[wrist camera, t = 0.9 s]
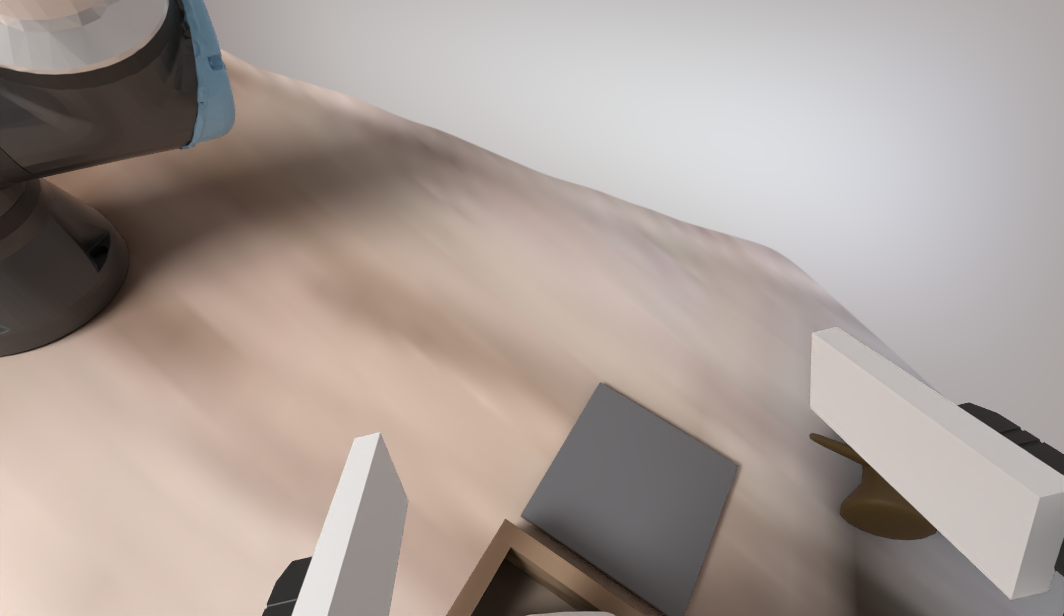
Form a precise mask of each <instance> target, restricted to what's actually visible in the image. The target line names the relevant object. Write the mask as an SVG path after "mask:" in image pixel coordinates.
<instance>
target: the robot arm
mask: <svg viewBox="0 0 1064 616" xmlns="http://www.w3.org/2000/svg"><path fill="white" fill-rule="evenodd" d="M221 57H222V55H221V52H220V48H219V43H218V39H217V36H216V33H215V31H214V27H213V25H212V22H211V19H210V16H209V14H208V11H207V8H206V6H205V3H204V1H203V0H0V356H4V355H10V354H15V353H19V352H23V351H27V350H30V349H33V348H36V347H39V346H42V345H45V344H47V343H50V342H52V341H54V340H56V339H58V338H61V337H63V336H65V335H66V334H68V333H70V332H72V331H74V330H75V329H77V328H78V327H80V326H81V325H83V324H85V323H86V322H87V321H89V320H90V319H91V318H93V317H94V316H95V315H96V314H97V313H99V312H100V311H101V310H102V309H103V308H104V307H105V306H106V305H107V304H108V303H109V302H110V300H111V299H112V298H113V297H114V296H115V294H116V293H117V291H118V290H119V288H120V287H121V285H122V283H123V281H124V279H125V276H126V273H127V270H128V265H129V253H128V248H127V245H126V243H125V241H124V239H123V238H122V236H121V235H120V234H119V233H118V231H117V230H116V229H115V228H114V226H113V225H112V224H111V223H110V222H109V220H108V219H107V218H106V217H105V216H103V215H102V214H101V213H100V212H99V211H97V210H96V209H94V208H93V207H91V206H89V205H88V204H86V203H84V202H83V201H81V200H79V199H78V198H76V197H74V196H72V195H71V194H69V193H67V192H66V191H64V190H62V189H61V188H59V187H57V186H56V185H54V184H52V183H50V182H49V181H47V180H45V179H44V178H43V177H47V176H52V175H56V174H61V173H65V172H70V171H75V170H79V169H84V168H88V167H93V166H97V165H102V164H106V163H111V162H116V161H120V160H125V159H130V158H135V157H140V156H145V155H150V154H154V153H159V152H164V151H169V150H174V149H189V148H191V147H193V146H195V145H196V144H197V143H200V142H204V141H207V140H211V139H215V138H218V137H221V136H224V135H225V134H227V133H228V132H229V131H230V130H231V129H232V127H233V125H234V121H235V105H234V98H233V93H232V89H231V84H230V80H229V77H228V73H227V70H226V67H225V65H224V62H223V61H222V59H221ZM810 408H811V409H812V410H813V411H814V412H815V413H816V414H817V415H818V416H819V417H820V418H821V419H822V420H823V421H824V422H825V423H827V424H828V425H829V426H830V427H831V428H832V429H833V430H834V431H835V432H836V433H837V434H838V435H839V436H840V437H841V438H842V439H843V440H844V441H845V442H846V443H847V444H848V445H850V446H851V447H852V448H853V449H854V450H855V451H856V452H857V453H858V454H859V455H860V456H861V457H862V458H863V459H864V460H865V461H866V462H867V463H868V464H869V465H870V466H871V467H873V468H874V469H875V470H876V471H877V472H878V473H879V474H880V475H881V476H882V477H883V478H884V479H885V480H886V481H887V482H888V483H889V484H890V485H891V486H892V487H893V488H894V489H896V490H897V491H898V492H899V493H900V494H901V495H902V496H903V497H904V498H905V499H906V500H907V501H908V502H909V503H910V504H911V505H912V506H913V507H914V508H915V509H916V510H917V511H918V512H920V513H921V514H922V515H923V516H924V517H925V518H926V519H927V520H928V521H929V522H930V523H931V524H932V525H933V526H934V527H935V528H936V529H937V530H938V531H939V532H940V533H941V534H943V535H944V536H945V537H946V538H947V539H948V540H949V541H950V542H951V543H952V544H953V545H954V546H955V547H956V548H957V549H958V550H959V551H960V552H961V553H962V554H963V555H964V556H966V557H967V558H968V559H969V560H970V561H971V562H972V563H973V564H974V565H975V566H976V567H977V568H978V569H979V570H980V571H981V572H982V573H983V574H984V575H985V576H986V577H987V578H989V579H990V580H991V581H992V582H993V583H994V584H995V585H996V586H997V587H998V588H999V589H1000V590H1001V591H1002V592H1003V593H1004V594H1005V595H1006V596H1007V597H1008V598H1009V599H1010V600H1013V599H1018V598H1022V597H1026V596H1030V595H1035V594H1039V593H1043V592H1047V591H1049V588H1050V585H1051V582H1052V579H1053V575H1054V572H1055V570H1056V571H1058V572H1059V573H1060V574H1061V575H1062V576H1064V454H1062V453H1061V452H1059V451H1058V450H1056V449H1054V448H1053V447H1051V446H1050V445H1048V444H1046V443H1045V442H1044V443H1041V442H1040V440H1039V439H1038V438H1036V437H1034V436H1033V435H1032V434H1030V433H1028V432H1027V431H1025V430H1024V431H1022V430H1021V428H1020V427H1019V426H1017V425H1016V424H1014V423H1012V422H1011V421H1009V420H1008V419H1006V418H1004V417H1003V416H1001V415H1000V414H998V413H996V412H993V411H990V410H988V409H985V408H982V407H980V406H977V405H974V404H972V403H965V404H961V405H955V404H954V403H952V402H951V401H949V400H948V399H946V398H945V397H943V396H942V395H940V394H939V393H937V392H936V391H934V390H933V389H931V388H930V387H928V386H927V385H925V384H924V383H922V382H921V381H919V380H917V379H916V378H914V377H913V376H911V375H910V374H908V373H907V372H905V371H904V370H902V369H901V368H899V367H898V366H896V365H895V364H893V363H892V362H890V361H889V360H887V359H886V358H884V357H883V356H881V355H879V354H878V353H876V352H875V351H873V350H872V349H870V348H869V347H867V346H866V345H864V344H863V343H861V342H860V341H858V340H857V339H855V338H854V337H852V336H851V335H849V334H848V333H846V332H845V331H843V330H842V329H840V328H838V327H833V328H829V329H825V330H820V331H816V332H812V354H811V391H810ZM407 506H408V499H407V496H406V494H405V491H404V489H403V486H402V484H401V482H400V479H399V477H398V474H397V472H396V469H395V467H394V465H393V462H392V460H391V457H390V455H389V452H388V450H387V447H386V445H385V443H384V440H383V438H382V435H381V433H380V432H379V433H375V434H370V435H366V436H362V437H357V438H355V439H354V442H353V445H352V448H351V450H350V453H349V456H348V459H347V462H346V464H345V467H344V470H343V473H342V476H341V478H340V481H339V484H338V487H337V490H336V492H335V495H334V498H333V501H332V504H331V506H330V509H329V512H328V515H327V518H326V520H325V523H324V526H323V529H322V532H321V534H320V537H319V540H318V543H317V546H316V549H315V551H314V554H313V557H308V558H304V559H300V560H295V561H292V562H291V563H290V565H289V566H288V567H287V569H286V570H285V571H284V572H283V574H282V575H281V576H280V578H279V579H278V580H277V582H276V583H275V586H274V588H273V590H272V593H271V595H270V598H269V600H268V603H267V609H265V610H264V612H263V615H262V616H389V611H390V606H391V600H392V594H393V588H394V582H395V576H396V571H397V565H398V559H399V553H400V547H401V541H402V536H403V530H404V524H405V518H406V512H407ZM1063 616H1064V614H1063Z"/></svg>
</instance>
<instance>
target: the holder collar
mask: <svg viewBox="0 0 1064 616" xmlns="http://www.w3.org/2000/svg"><path fill="white" fill-rule="evenodd" d="M504 558H505V559H507V560H508V561H509V562H511V563H512V564H514V565H515V566H516V567H518V568H519V569H521V570H522V571H523V572H525V573H526V574H528V575H529V576H530V577H532V578H533V579H535V580H536V581H537V582H539V583H540V584H542V585H543V586H544V587H546V588H547V589H549V590H550V591H551V592H553V593H554V594H556V595H557V596H558V597H560V598H561V599H563V600H564V601H565V602H567V603H568V604H570V605H571V606H572V607H574V608H575V609H577V610H578V611H580V612H584V611H589V612H608V613H611V614H614V615H615V616H645V615H643V614H642V613H640V612H639V611H637V610H636V609H634V608H633V607H632V606H630V605H629V604H627V603H626V602H624V601H623V600H622V599H620V598H619V597H617V596H616V595H614V594H613V593H611V592H610V591H609V590H607V589H606V588H604V587H603V586H601V585H600V584H598V583H597V582H596V581H594V580H593V579H591V578H590V577H588V576H587V575H586V574H584V573H583V572H581V571H580V570H578V569H577V568H575V567H574V566H573V565H571V564H570V563H568V562H567V561H565V560H564V559H562V558H561V557H560V556H558V555H557V554H555V553H554V552H552V551H551V550H550V549H548V548H547V547H545V546H544V545H542V544H541V543H539V542H538V541H537V540H535V539H534V538H532V537H531V536H529V535H528V534H526V533H525V532H524V531H522V530H521V529H519V528H518V527H516V526H515V525H514V524H512V523H511V522H509V521H508V520H506V519H505V520H504V522H503V524H502V525H501V527H500V528H499V530H498V532H497V533H496V535H495V537H494V538H493V540H492V542H491V543H490V545H489V546H488V548H487V550H486V551H485V553H484V555H483V556H482V558H481V560H480V561H479V563H478V564H477V566H476V568H475V569H474V571H473V573H472V574H471V576H470V578H469V579H468V581H467V582H466V584H465V586H464V587H463V589H462V591H461V592H460V594H459V596H458V597H457V599H456V600H455V602H454V604H453V605H452V607H451V609H450V610H449V612H448V614H447V615H446V616H471V614H472V612H473V611H474V609H475V607H476V606H477V604H478V602H479V600H480V599H481V597H482V595H483V594H484V592H485V590H486V589H487V587H488V585H489V583H490V582H491V580H492V578H493V577H494V575H495V573H496V571H497V570H498V568H499V566H500V565H501V563H502V561H503V559H504Z"/></svg>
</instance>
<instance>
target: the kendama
mask: <svg viewBox="0 0 1064 616" xmlns="http://www.w3.org/2000/svg"><path fill="white" fill-rule="evenodd" d="M809 436H810V438H811V439H812V440H813V441H815V442H816V443H818V444H820V445H822V446H824V447H826V448H828V449H830V450H832V451H834V452H836V453H838V454H840V455H843V456H845V457H847V458H849V459H851V460H853V461H855V462H857V463H860V464H862V468H863V472H862V482H861V484H860V485H859V486H858V487H857V488H856V489H855V490H854V491H853V492H852V493H851V494H850V495H849V496H848V497H847V498H846V499H845V500H844V502H843V503H842V504H841V508H840V515H841V516H842V517H843V518H844V519H845V520H846V521H847V522H849V523H850V524H852V525H854V526H855V527H857V528H859V529H861V530H863V531H866V532H868V533H871V534H874V535H877V536H881V537H886V538H890V539H899V540H914V539H922V538H925V537H928V536H930V535H933V534H935V533H936V531H937V529H936V528H935V527H934V526H933V525H932V524H931V523H930V522H929V521H928V520H927V519H926V518H925V517H924V516H923V515H922V514H921V513H920V512H918V511H917V510H916V509H915V508H914V507H913V506H912V505H911V504H910V503H909V502H908V501H907V500H906V499H905V498H904V497H903V496H902V495H901V494H900V493H899V492H898V491H897V490H896V489H894V488H893V487H892V486H891V485H890V484H889V483H888V482H887V481H886V480H885V479H884V478H883V477H882V476H881V475H880V474H879V473H878V472H877V471H876V470H875V469H874V468H873V467H871V466H870V465H869V464H868V463H867V462H866V461H865V460H864V459H863V458H862V457H861V456H860V455H859V454H858V453H857V452H856V451H855V450H854V449H853V448H852V447H850V446H847V445H845V444H842V443H840V442H837V441H835V440H832V439H829V438H827V437H824V436H821V435H818V434H814V433H812V434H810V435H809ZM1055 571H1056V570H1055Z"/></svg>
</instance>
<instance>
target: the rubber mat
mask: <svg viewBox="0 0 1064 616" xmlns="http://www.w3.org/2000/svg"><path fill="white" fill-rule="evenodd" d="M737 467H738V465H737V464H735V463H733V462H732V461H730V460H728V459H727V458H725V457H724V456H722V455H720V454H719V453H717V452H715V451H714V450H712V449H710V448H709V447H707V446H705V445H704V444H702V443H700V442H699V441H697V440H695V439H694V438H692V437H690V436H689V435H687V434H685V433H684V432H682V431H680V430H679V429H677V428H676V427H674V426H672V425H671V424H669V423H667V422H666V421H664V420H662V419H661V418H659V417H657V416H656V415H654V414H652V413H651V412H649V411H647V410H646V409H644V408H642V407H641V406H639V405H637V404H636V403H634V402H632V401H631V400H629V399H628V398H626V397H624V396H623V395H621V394H619V393H618V392H616V391H614V390H613V389H611V388H609V387H608V386H606V385H604V384H603V383H601V382H600V383H599V385H598V387H597V388H596V390H595V392H594V393H593V395H592V397H591V399H590V400H589V402H588V404H587V405H586V407H585V409H584V410H583V412H582V414H581V415H580V417H579V419H578V420H577V422H576V424H575V425H574V427H573V429H572V430H571V432H570V434H569V435H568V437H567V439H566V441H565V442H564V444H563V446H562V447H561V449H560V451H559V452H558V454H557V456H556V457H555V459H554V461H553V462H552V464H551V466H550V467H549V469H548V471H547V472H546V474H545V476H544V477H543V479H542V481H541V482H540V484H539V486H538V488H537V489H536V491H535V493H534V494H533V496H532V498H531V499H530V501H529V503H528V504H527V506H526V508H525V509H524V511H523V513H522V514H521V517H522V518H524V519H525V520H527V521H528V522H530V523H531V524H533V525H534V526H536V527H537V528H538V529H540V530H541V531H543V532H544V533H546V534H547V535H549V536H550V537H551V538H553V539H554V540H556V541H557V542H559V543H560V544H562V545H563V546H565V547H566V548H567V549H569V550H570V551H572V552H573V553H575V554H576V555H578V556H579V557H581V558H582V559H583V560H585V561H586V562H588V563H589V564H591V565H592V566H594V567H595V568H597V569H598V570H599V571H601V572H602V573H604V574H605V575H607V576H608V577H610V578H611V579H612V580H614V581H615V582H617V583H618V584H620V585H621V586H623V587H624V588H626V589H627V590H628V591H630V592H631V593H633V594H634V595H636V596H637V597H639V598H640V599H642V600H643V601H644V602H646V603H647V604H649V605H650V606H652V607H653V608H655V609H656V610H658V611H659V612H660V613H662V614H663V615H665V616H684V614H685V611H686V608H687V605H688V603H689V600H690V597H691V594H692V591H693V589H694V586H695V583H696V580H697V578H698V575H699V572H700V569H701V567H702V564H703V561H704V558H705V555H706V553H707V550H708V547H709V544H710V542H711V539H712V536H713V533H714V531H715V528H716V525H717V522H718V519H719V517H720V514H721V511H722V508H723V506H724V503H725V500H726V497H727V495H728V492H729V489H730V486H731V483H732V481H733V478H734V475H735V472H736V470H737Z"/></svg>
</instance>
